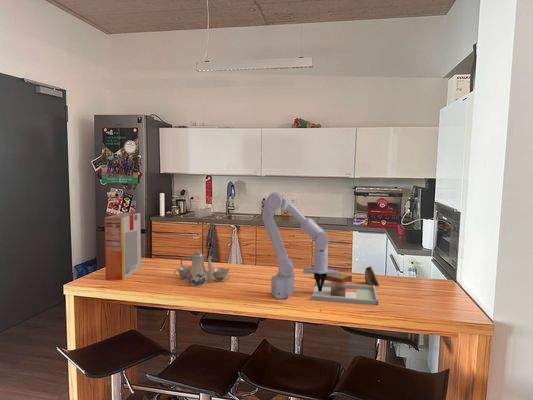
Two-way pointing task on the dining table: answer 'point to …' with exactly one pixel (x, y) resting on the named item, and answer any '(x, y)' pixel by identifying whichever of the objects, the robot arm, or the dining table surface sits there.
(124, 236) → the pasta box
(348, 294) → the trap tray
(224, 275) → the chinaware
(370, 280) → the rock
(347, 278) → the carton
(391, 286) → the dining table surface
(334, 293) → the walnut block
